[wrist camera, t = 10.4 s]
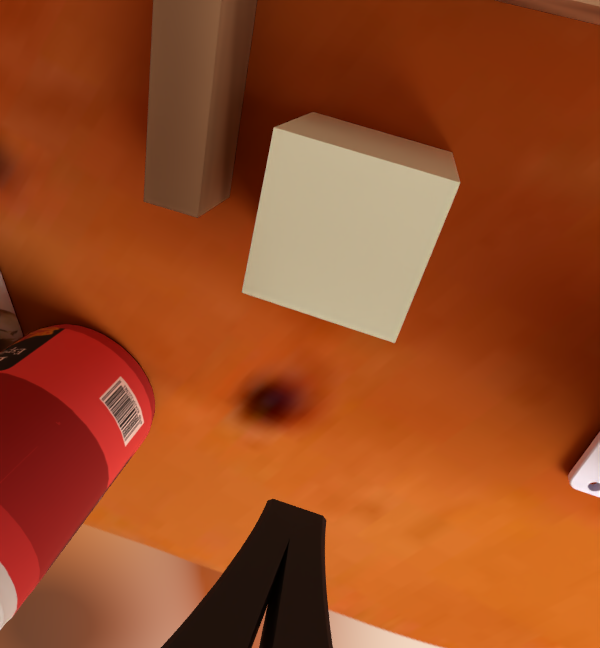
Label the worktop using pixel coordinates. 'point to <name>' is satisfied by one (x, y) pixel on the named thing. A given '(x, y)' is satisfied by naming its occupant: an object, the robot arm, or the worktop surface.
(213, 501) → the worktop surface
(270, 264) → the block
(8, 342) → the coffee box
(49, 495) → the canned food
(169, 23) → the corner stop
